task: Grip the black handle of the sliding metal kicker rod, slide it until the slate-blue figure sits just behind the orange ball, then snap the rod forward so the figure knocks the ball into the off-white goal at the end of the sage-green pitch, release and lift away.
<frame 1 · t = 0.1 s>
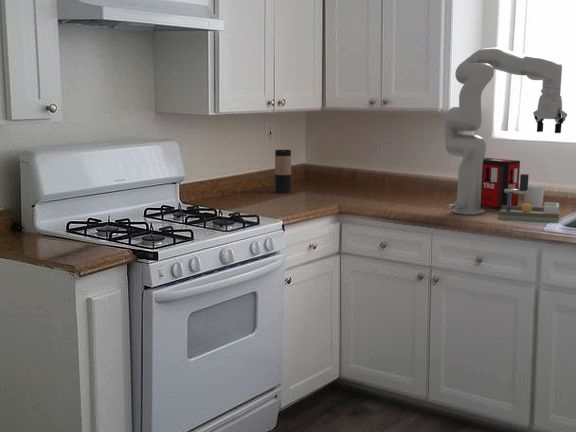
hand: (548, 132, 342), 31 cm above the countertop, tool pointing down, fingers open, 9 cm apart
cleaning product box: (494, 207, 340), on the countertop
pitch: (528, 217, 314), on the countertop
kicker rod: (517, 192, 314), point 9 cm above the countertop, slide at 0.0 cm
travel mug: (282, 192, 378), on the countertop
ball: (526, 208, 313), point 3 cm above the countertop, touching pitch
white cup: (533, 210, 332), on the countertop
goal: (549, 218, 311), resting on pitch
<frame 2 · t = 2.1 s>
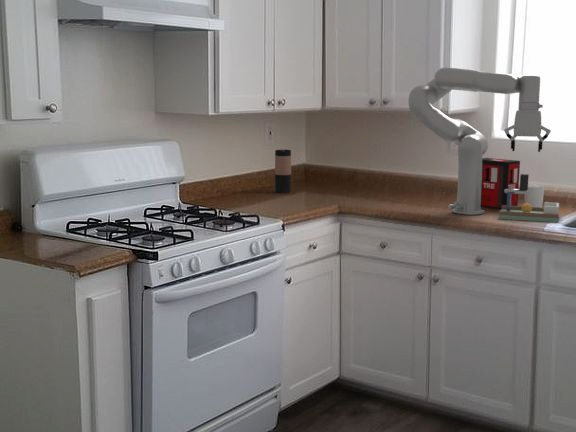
hand: (526, 151, 310), 26 cm above the countertop, tool pointing down, fingers open, 9 cm apart
nothing on the countertop moved.
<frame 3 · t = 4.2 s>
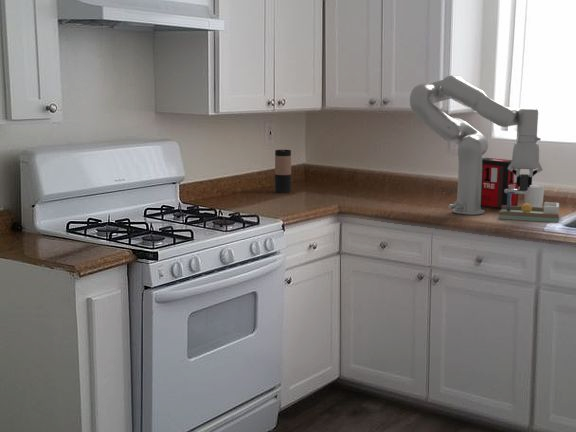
hand: (523, 186, 312), 12 cm above the countertop, tool pointing down, fingers closed on kicker rod, 3 cm apart
kicker rod: (517, 192, 314), point 9 cm above the countertop, slide at 0.0 cm, touching gripper
everything else where it was.
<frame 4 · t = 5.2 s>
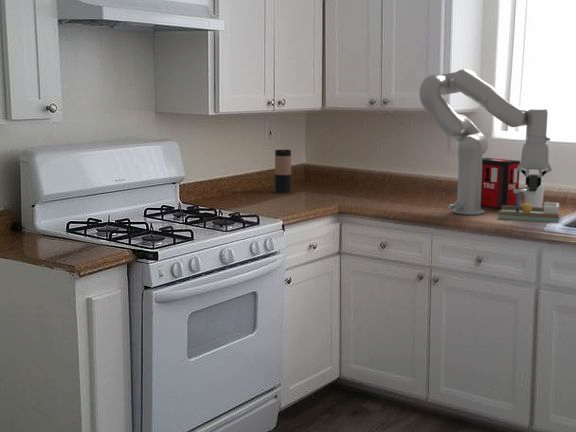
hand: (533, 186, 311), 12 cm above the countertop, tool pointing down, fingers closed on kicker rod, 3 cm apart
kicker rod: (526, 193, 312), point 9 cm above the countertop, slide at 3.5 cm, touching gripper
everything else where it was.
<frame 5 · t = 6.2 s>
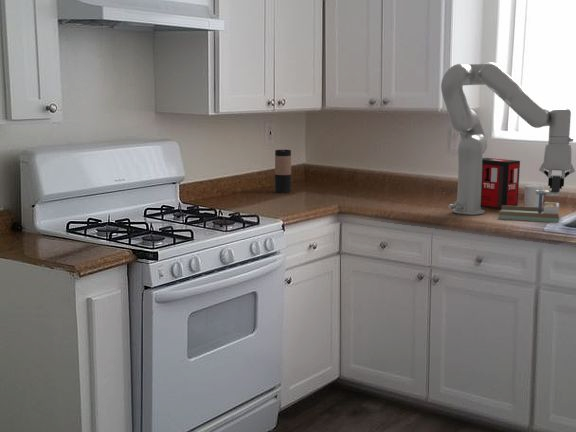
hand: (555, 187, 309), 12 cm above the countertop, tool pointing down, fingers closed on kicker rod, 3 cm apart
kicker rod: (549, 194, 310), point 9 cm above the countertop, slide at 11.9 cm, touching gripper
ball: (549, 209, 311), point 3 cm above the countertop, tilted 121°, touching pitch
everything else where it was.
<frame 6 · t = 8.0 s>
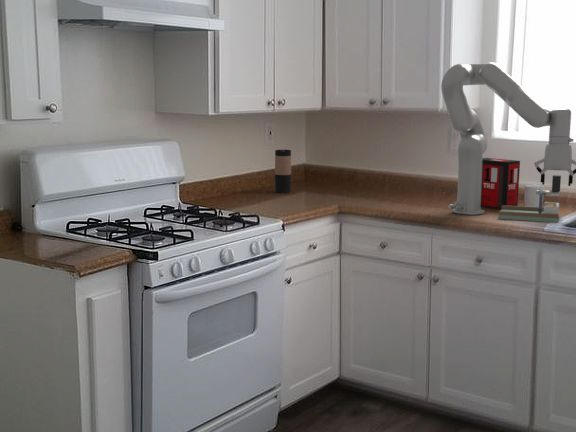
hand: (556, 184, 308), 13 cm above the countertop, tool pointing down, fingers open, 9 cm apart
kicker rod: (549, 194, 310), point 9 cm above the countertop, slide at 12.0 cm
everything else where it was.
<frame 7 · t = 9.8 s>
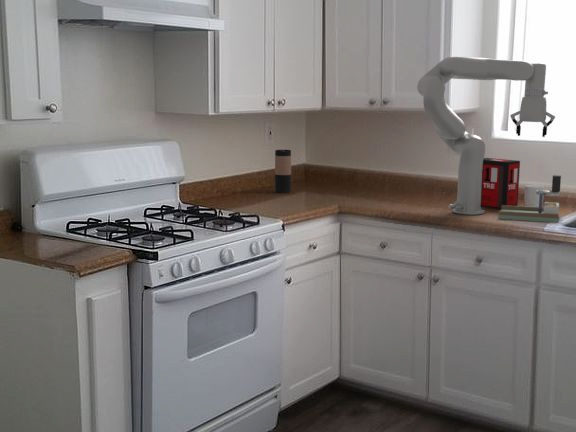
hand: (531, 136, 322), 31 cm above the countertop, tool pointing down, fingers open, 9 cm apart
ball: (550, 209, 311), point 3 cm above the countertop, tilted 111°, touching pitch
everything else where it was.
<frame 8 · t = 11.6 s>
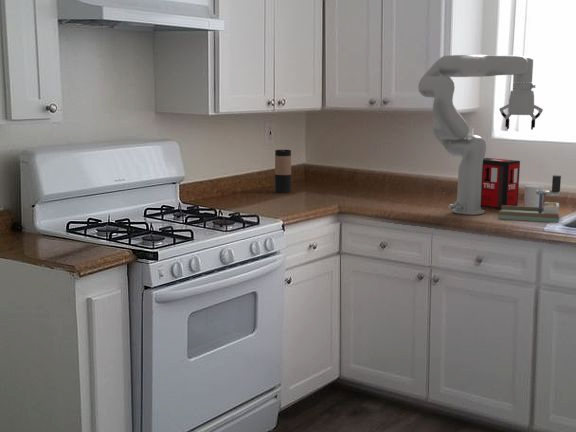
hand: (519, 129, 329), 33 cm above the countertop, tool pointing down, fingers open, 9 cm apart
nothing on the countertop moved.
at the end: ball 0.2 cm from the goal (horizontally); kicker rod slide at 12.0 cm; the gripper is holding nothing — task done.
